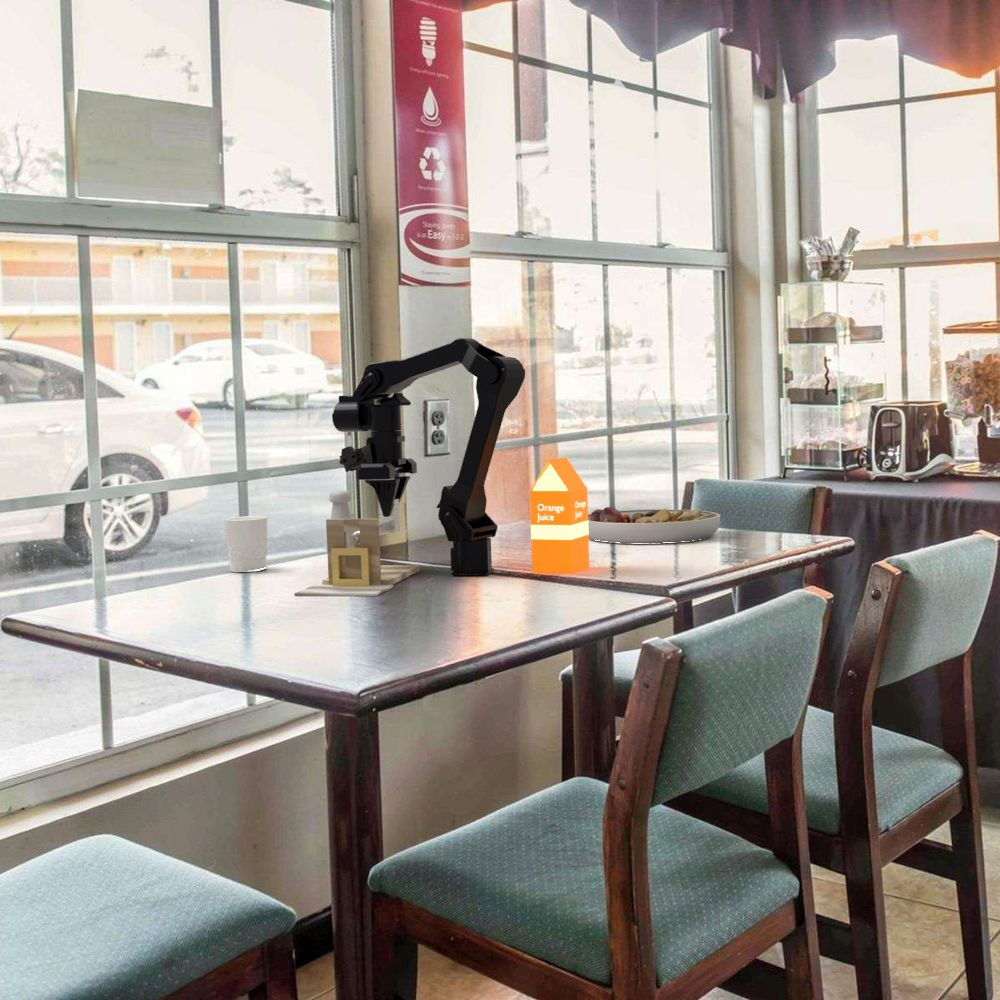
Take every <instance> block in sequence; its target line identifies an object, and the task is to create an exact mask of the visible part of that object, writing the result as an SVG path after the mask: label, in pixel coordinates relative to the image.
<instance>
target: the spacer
mask: <svg viewBox="0 0 1000 1000" xmlns="http://www.w3.org/2000/svg"><path fill="white" fill-rule="evenodd" d="M341 555H361V569H362V578H342V561H341ZM331 556H332V580H333V586H370V585H372V577H371V552H370V547H334V548H331Z"/></svg>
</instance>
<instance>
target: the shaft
mask: <svg viewBox="0 0 1000 1000" xmlns="http://www.w3.org/2000/svg"><path fill="white" fill-rule="evenodd" d="M377 501H378V518H379V537H381V536H383V535H387V534H391V533H393V534H396V533H398V532H400V531H401V527H400V526H401V525H400V524H401V523H400V522H401V521H400V503H399V499H394V503H393V507H392V510H391V513H390V516H389V517H384V516H383V513H382V510H381V507H380V504H379V500H378V499H377ZM350 541H351V543H353V544H355V545H357V544H360V532H354V533H353V534H352V535H351V536H350Z"/></svg>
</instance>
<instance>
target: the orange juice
mask: <svg viewBox="0 0 1000 1000" xmlns="http://www.w3.org/2000/svg"><path fill="white" fill-rule="evenodd" d="M529 499H530V500H529V501H530V502H529V504H530V506H529V508H530V540H531V568H532V569H531V570H532V573H533V574H535V573H536V574H558V575H559V574H561V575H562V574H563V575H569V574H570V575H572V574H575V573H578V572H581V571H583V570H586V569H589V568H590V552H589V551H590V548H589V547H590V545H589V541H590V538H589V537H588V534H589V527H588V514H589V507H588V505H589V503H588V487H587V486H586V485H585V483H584V482H583V479H581V477H580V476H579V474H578V473H577V471H576V469H575V468H574V467H573V466H572V464H571V463H570V461H569V459H568V457H567V456H565V457H560V458H559V457H558V458H553V459H549V460H548V461H547V462H546V464H545V466H544V467H543V469H542V471H541V473H539V476H537V479H536V480H535V482H534V484H533V485H532V487H531V488H530V490H529Z"/></svg>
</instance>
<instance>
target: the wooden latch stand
mask: <svg viewBox="0 0 1000 1000" xmlns="http://www.w3.org/2000/svg"><path fill="white" fill-rule="evenodd" d="M325 522H326V523H325V525H326V547H327V548H326V549H327V551H326V553H327V569H328V570H327V573H328V574H327V575H328V577H327V578H325V579H323V580H322V584H313V585H311V586H308V587H306V588H304V589H301V590H299V591H297V592H294V593H293V595H294V596H295V597H297V596H299V597H316V596H317V597H378V596H379V595H381V594H383V593H385V592H387V591H389V590H391V589H392V588H394V585H395V584H397V583H398V582H401V581H403V580H405V579H406V578H409V577H411V576H412V574H413V575H414V574H416V573H419V572H420V571H421V568H420V565H418V564H417V565H413V564H412V565H411V564H410V565H407V564H406V565H405V564H404V565H403V564H401V565H398V564H395V565H394V564H393V565H385V564H382V565H381V542H380V541H381V540H380V536H379V517H378V518H351V519H331V518H326V519H325ZM346 532H354V533H356V532H360V544H357V545H355V547H370V552H371V577H372V585H370V586H333V580H332V556H331V548H334V547H347V545H346ZM341 561H342V578H362V569H361V555H341ZM410 575H411V576H410Z"/></svg>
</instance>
